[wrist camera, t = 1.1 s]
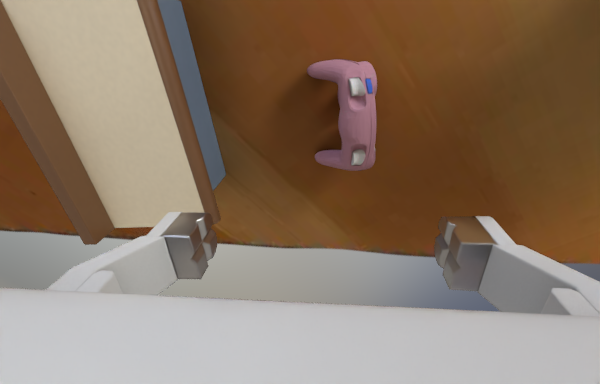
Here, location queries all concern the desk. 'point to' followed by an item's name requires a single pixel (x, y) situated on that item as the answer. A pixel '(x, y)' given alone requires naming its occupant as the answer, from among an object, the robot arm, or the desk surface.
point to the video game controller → (351, 112)
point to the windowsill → (111, 109)
